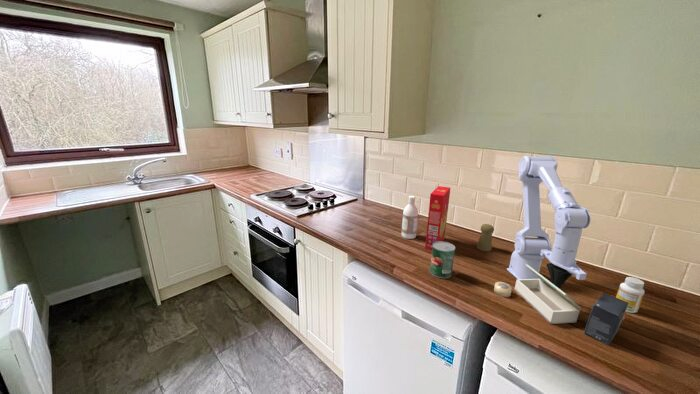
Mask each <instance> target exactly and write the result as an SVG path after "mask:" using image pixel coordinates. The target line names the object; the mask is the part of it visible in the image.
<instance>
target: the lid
mask: <svg viewBox="0 0 700 394" xmlns="http://www.w3.org/2000/svg"><path fill="white" fill-rule="evenodd" d="M526 266H527V267H528V268H529V269H531V270H532V271H533V272H534V273H535V274H536V275H537V276H538V277H539V278H540V279H541V280H543V281H544V283H545V284H546V285H548V286H549V287H550V288H552V289H553V290H554V291H555V292H557V293H558V294H559V295H560V296H562V297H563V298H564V299H566V300H567V301H568V302H569V303H571V304H572V305H573V306H574V307H576V308H577V309H578V310H579V311H582V306H580V305H579V304H578V303H577V302H575V301H574V300H573V299H572V298H571V297H570V296H569V295H568V294H567V293H565V292H564V291H563V290H561V289H559V288H558V287H556V286H555V285H554V284H552V283H551V280H548V278H546V277H544V276H543V275H542V274H540V272H539V273H538V272H537V271H535V270H534V269H533V268H531V267H530V266H529V265H527V264H526Z"/></svg>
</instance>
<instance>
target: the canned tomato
mask: <svg viewBox="0 0 700 394" xmlns="http://www.w3.org/2000/svg"><path fill="white" fill-rule="evenodd" d="M455 253H456V246H455V245H454V244H453V243H450V242H448V241H444V240H443V241H438V242H435V243H433V248H432V250H431V255H430V256H431V258H430V266H429V273H430V274H431V275H432V276H433V277H436V278H437V279H438V278H439V279H449V278H450V277H452V274H453V273H452V272H453V267H454V260H455Z"/></svg>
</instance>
